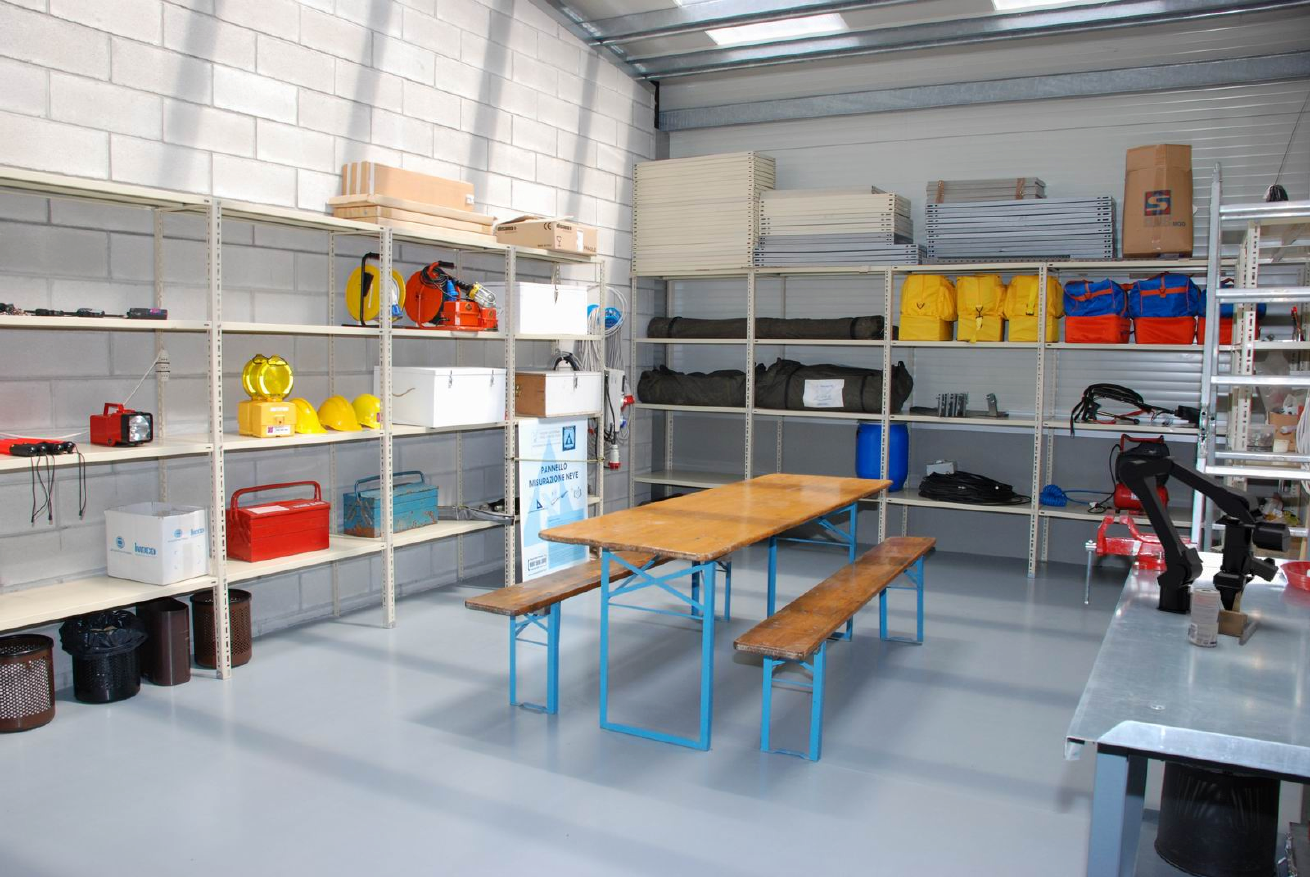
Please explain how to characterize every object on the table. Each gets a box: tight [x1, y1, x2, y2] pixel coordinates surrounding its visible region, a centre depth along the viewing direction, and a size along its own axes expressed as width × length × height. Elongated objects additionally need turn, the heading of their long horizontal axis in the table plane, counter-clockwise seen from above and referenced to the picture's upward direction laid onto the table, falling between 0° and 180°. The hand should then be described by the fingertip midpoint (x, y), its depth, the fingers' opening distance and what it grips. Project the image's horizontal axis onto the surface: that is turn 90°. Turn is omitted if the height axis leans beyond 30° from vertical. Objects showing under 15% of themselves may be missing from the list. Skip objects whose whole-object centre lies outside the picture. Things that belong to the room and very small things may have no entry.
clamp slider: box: [1218, 591, 1249, 637], centre depth 228 cm, size 8×14×8 cm, turn 140°
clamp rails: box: [1187, 619, 1259, 646], centre depth 225 cm, size 11×19×2 cm, turn 140°
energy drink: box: [1188, 587, 1221, 648], centre depth 215 cm, size 5×5×12 cm
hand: (1232, 609), depth 233 cm, fingers open, 9 cm apart
